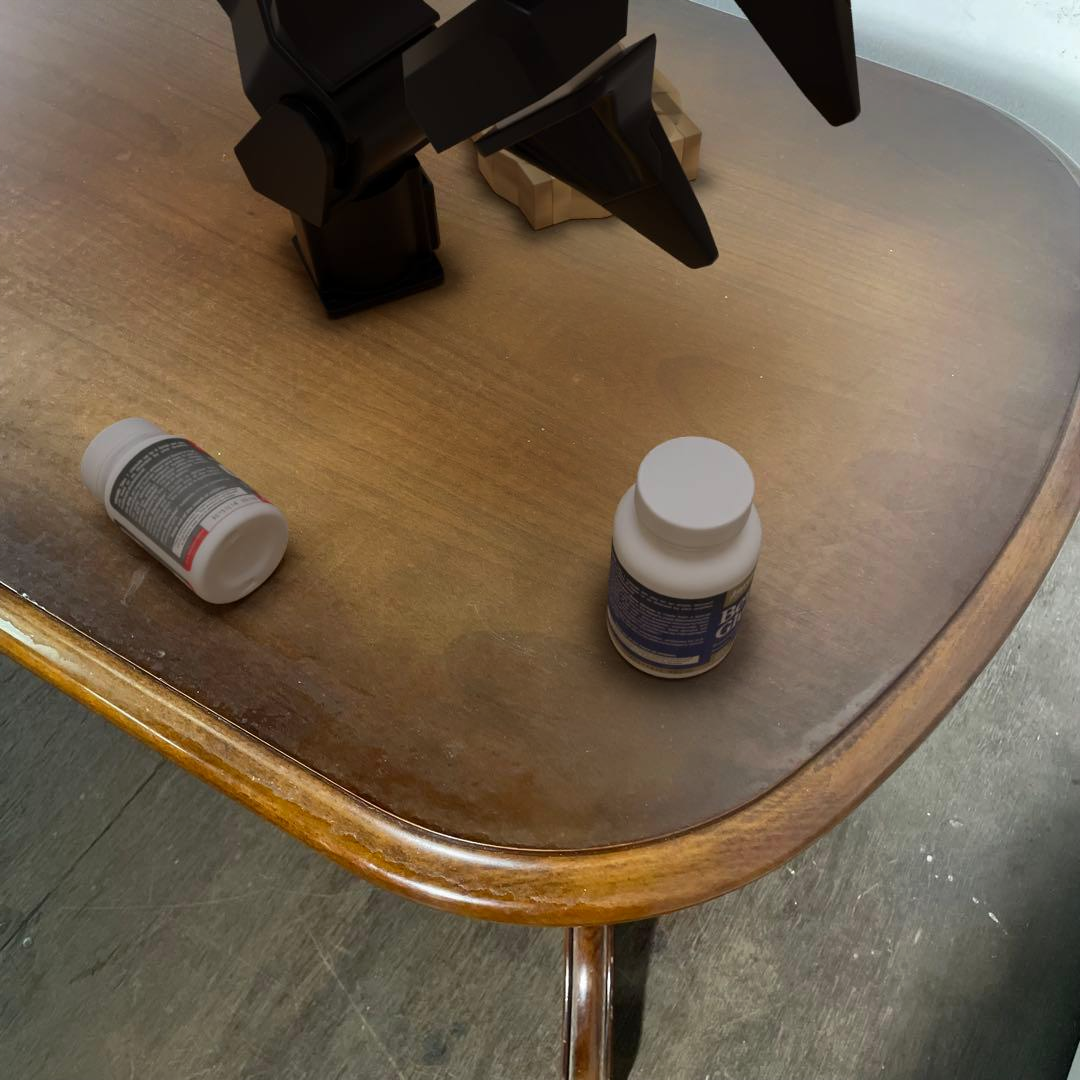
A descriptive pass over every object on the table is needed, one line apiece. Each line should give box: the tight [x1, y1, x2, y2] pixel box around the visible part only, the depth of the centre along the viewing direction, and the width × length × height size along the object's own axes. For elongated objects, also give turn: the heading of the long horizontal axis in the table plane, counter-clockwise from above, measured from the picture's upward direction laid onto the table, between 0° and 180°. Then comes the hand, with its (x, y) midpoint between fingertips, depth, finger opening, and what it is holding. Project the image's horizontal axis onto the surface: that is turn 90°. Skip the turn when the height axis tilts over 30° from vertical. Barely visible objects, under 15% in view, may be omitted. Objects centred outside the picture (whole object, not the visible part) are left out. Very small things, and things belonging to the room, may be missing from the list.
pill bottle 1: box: [79, 417, 290, 605], centre depth 44 cm, size 5×5×8 cm
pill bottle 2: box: [606, 435, 763, 679], centre depth 39 cm, size 5×5×10 cm
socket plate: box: [470, 40, 703, 231], centre depth 60 cm, size 11×11×3 cm
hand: (780, 189), depth 36 cm, fingers open, 9 cm apart
